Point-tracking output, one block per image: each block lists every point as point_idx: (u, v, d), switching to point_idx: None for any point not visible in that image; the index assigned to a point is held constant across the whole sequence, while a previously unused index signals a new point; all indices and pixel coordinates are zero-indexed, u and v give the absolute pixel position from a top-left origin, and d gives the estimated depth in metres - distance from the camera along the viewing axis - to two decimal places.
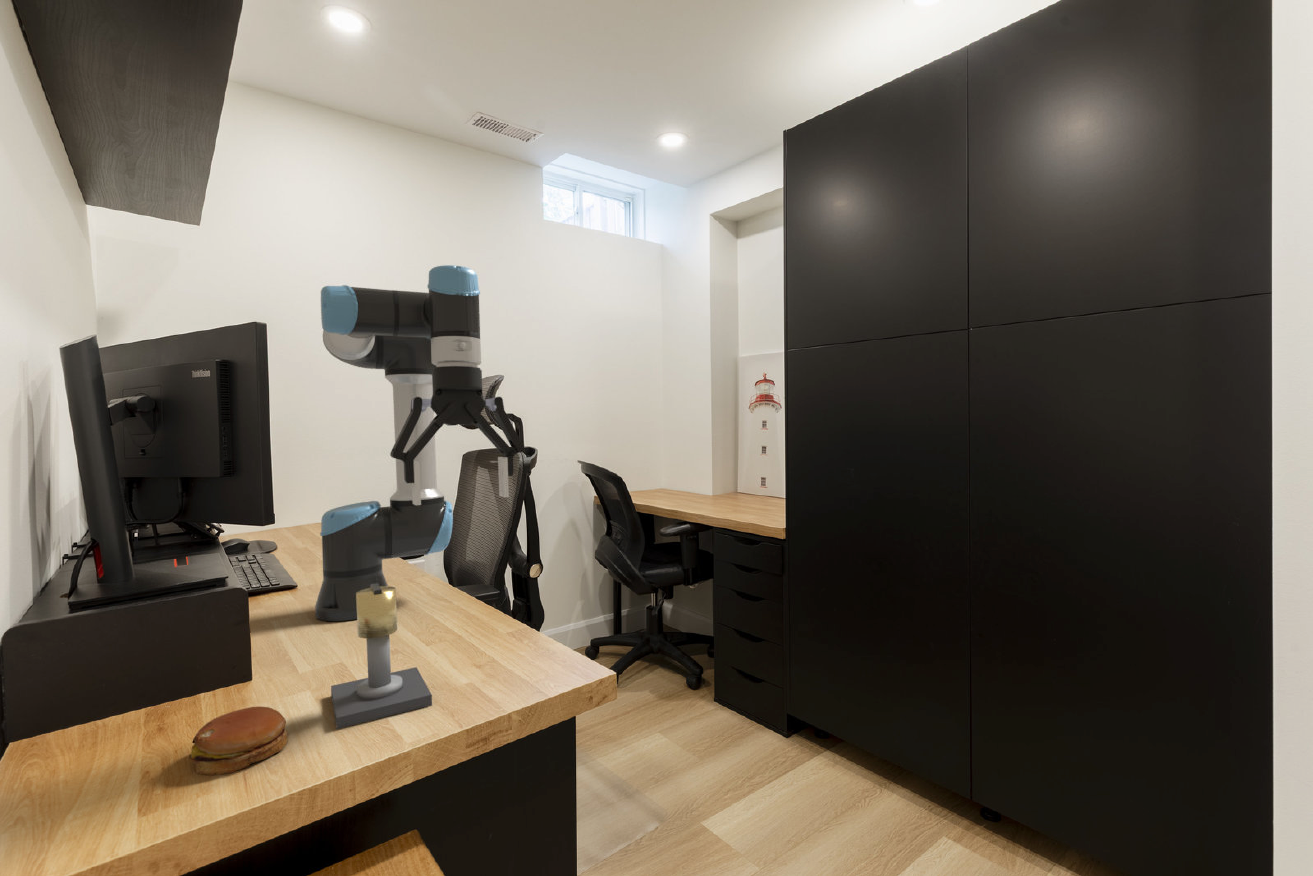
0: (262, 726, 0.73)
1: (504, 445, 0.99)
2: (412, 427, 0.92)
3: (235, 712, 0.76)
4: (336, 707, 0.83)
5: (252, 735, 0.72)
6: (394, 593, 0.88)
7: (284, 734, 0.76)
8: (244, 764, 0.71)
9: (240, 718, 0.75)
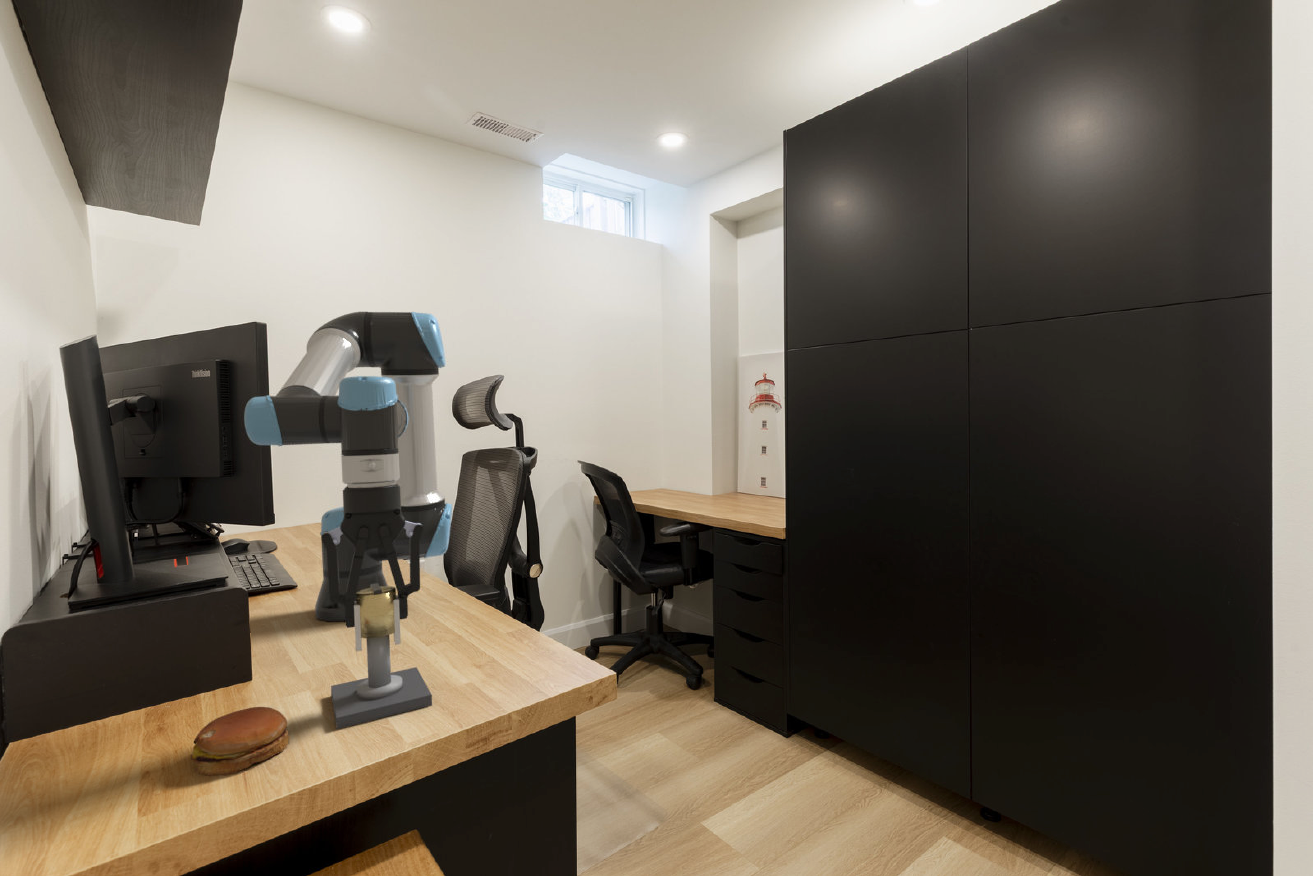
0: (263, 727, 0.73)
1: (400, 583, 0.88)
2: (335, 565, 0.85)
3: (236, 712, 0.76)
4: (336, 707, 0.83)
5: (254, 736, 0.72)
6: (394, 593, 0.88)
7: (285, 734, 0.76)
8: (245, 765, 0.71)
9: (241, 719, 0.75)
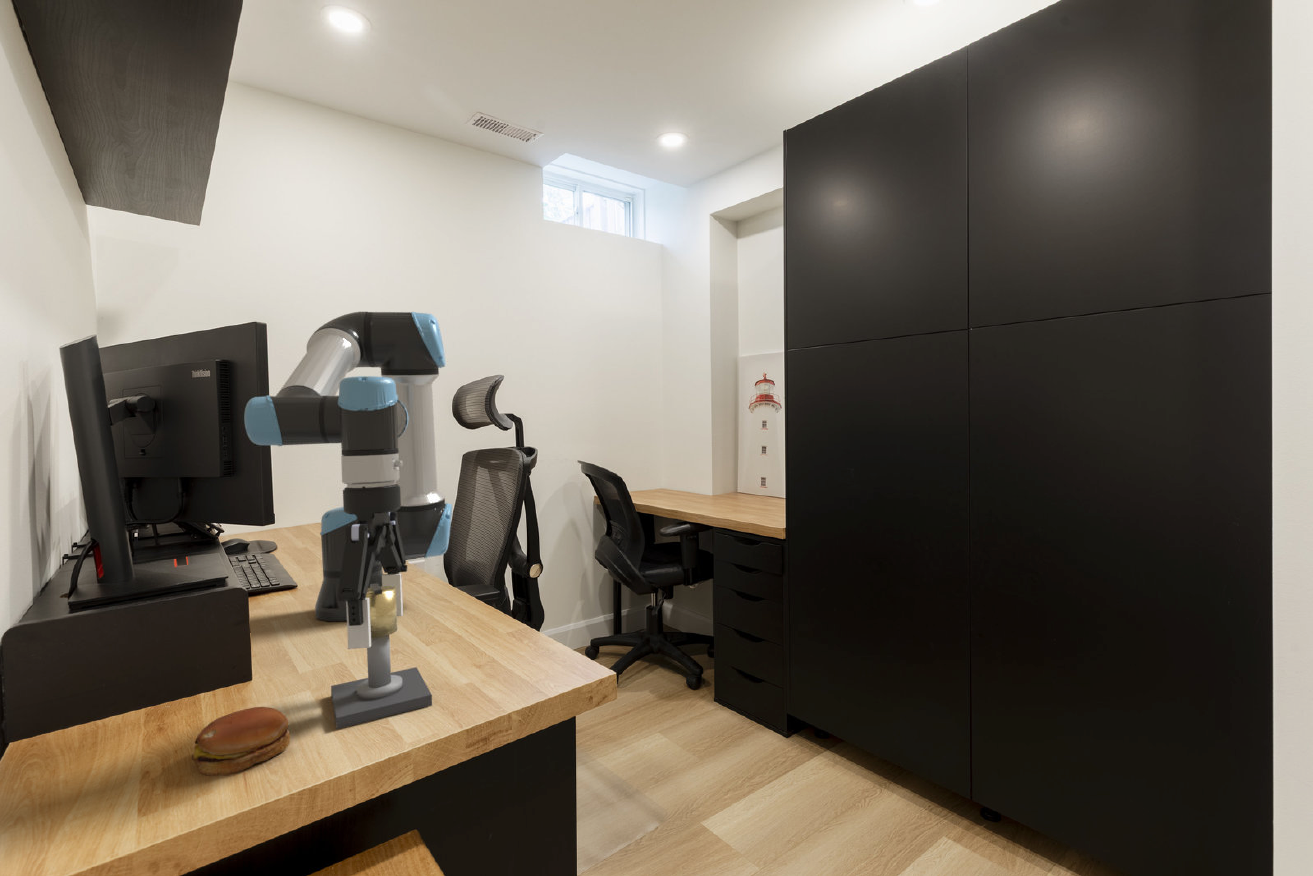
0: (265, 727, 0.73)
1: (399, 561, 0.95)
2: (364, 560, 0.81)
3: (238, 712, 0.76)
4: (336, 707, 0.83)
5: (255, 736, 0.72)
6: (394, 593, 0.88)
7: (287, 734, 0.76)
8: (246, 765, 0.71)
9: (242, 719, 0.75)
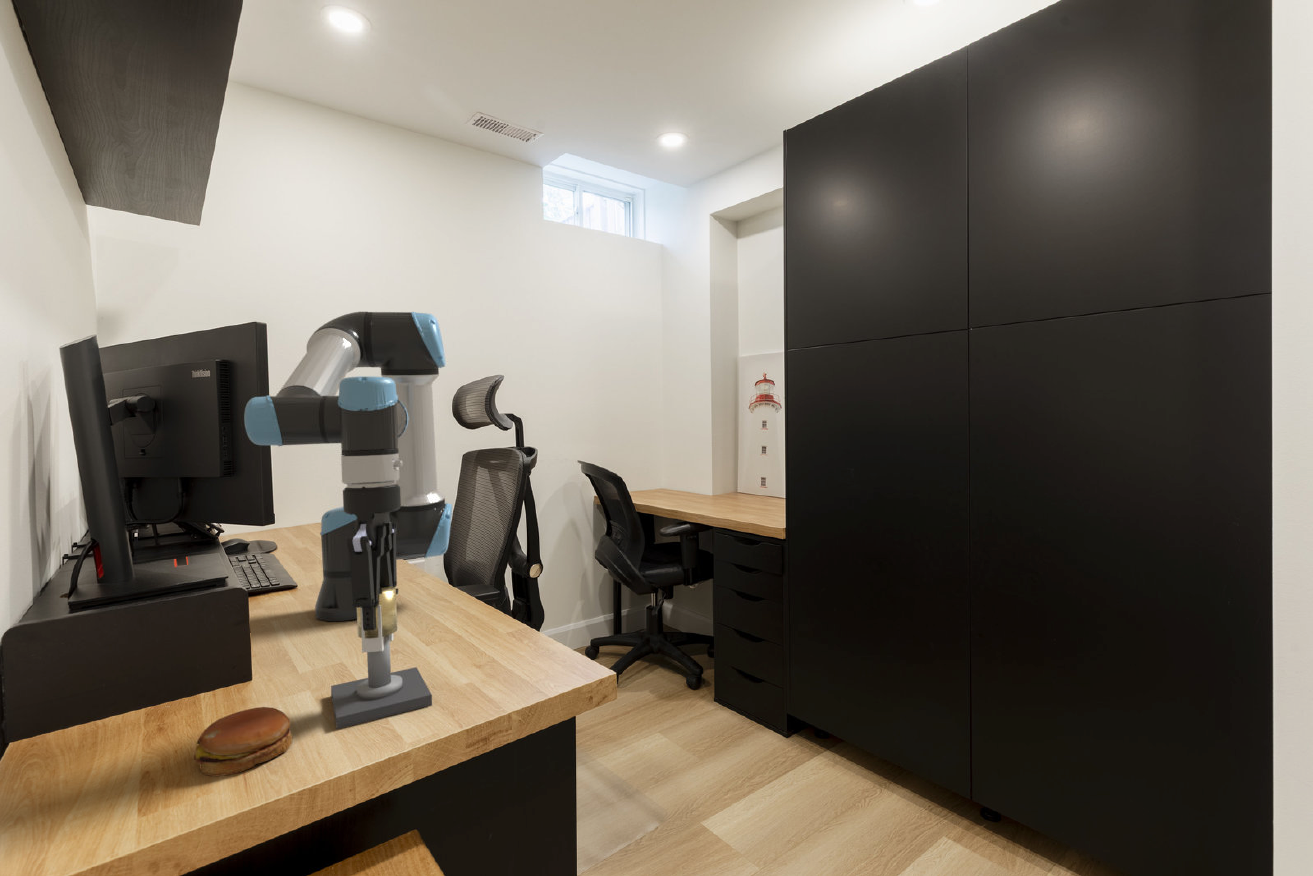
0: (267, 727, 0.73)
1: (391, 579, 0.91)
2: (371, 567, 0.83)
3: (240, 713, 0.76)
4: (336, 707, 0.83)
5: (257, 736, 0.72)
6: (394, 593, 0.88)
7: (289, 735, 0.76)
8: (248, 765, 0.71)
9: (244, 719, 0.75)
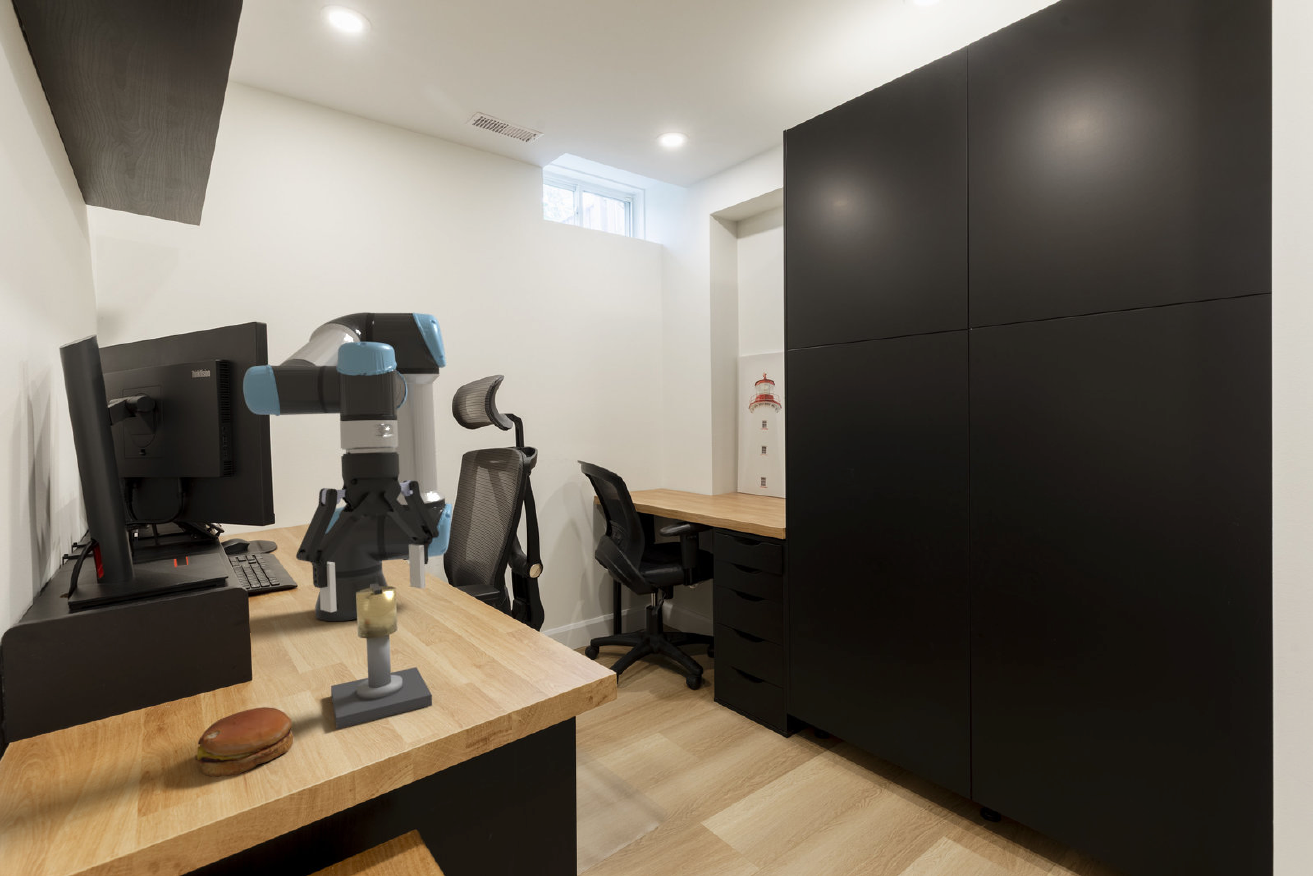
0: (268, 727, 0.73)
1: (420, 532, 0.93)
2: (327, 524, 0.81)
3: (241, 713, 0.76)
4: (336, 707, 0.83)
5: (258, 736, 0.72)
6: (394, 593, 0.88)
7: (290, 735, 0.76)
8: (250, 765, 0.71)
9: (245, 719, 0.74)
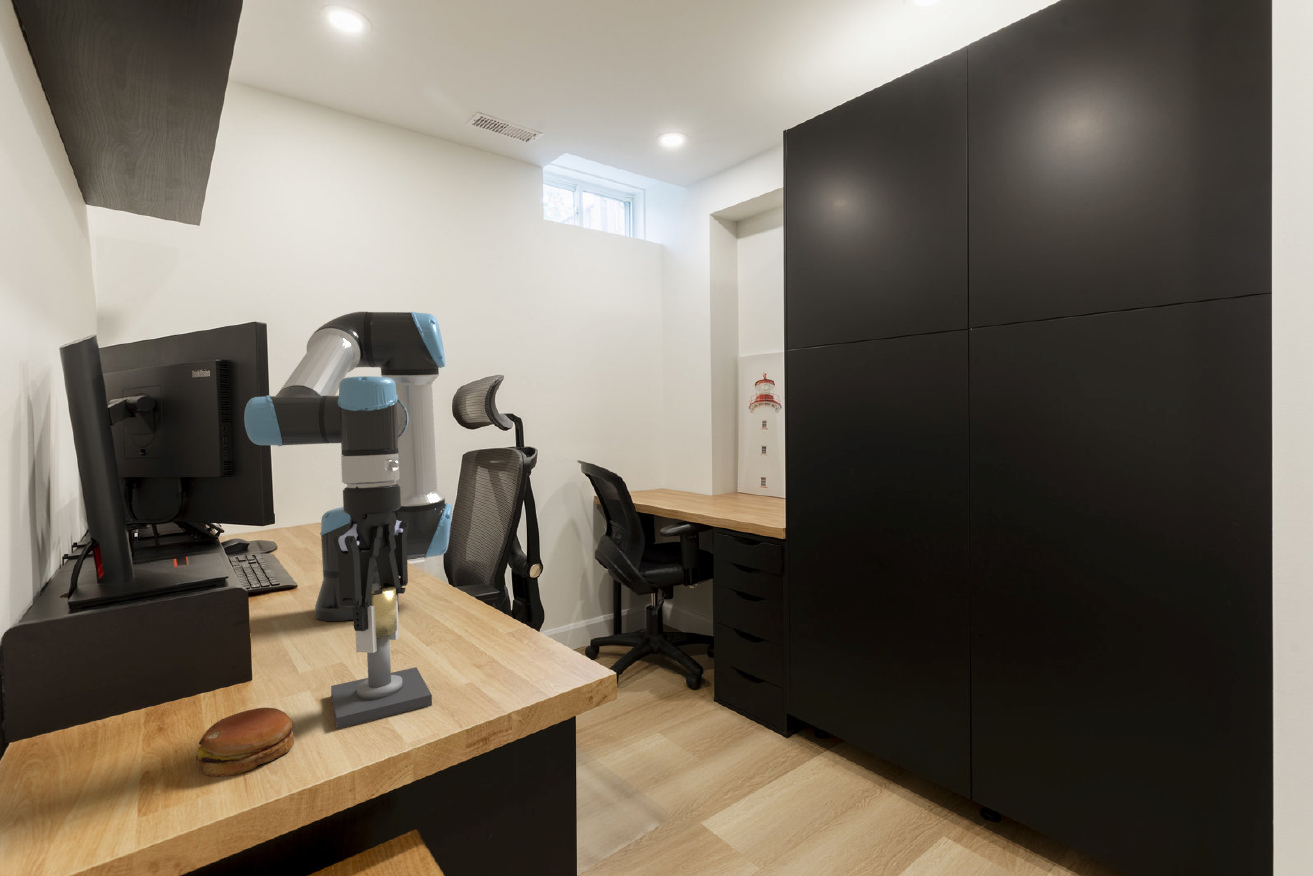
0: (269, 728, 0.73)
1: (397, 579, 0.91)
2: (358, 568, 0.83)
3: (242, 713, 0.76)
4: (336, 707, 0.83)
5: (259, 737, 0.72)
6: (394, 593, 0.88)
7: (291, 735, 0.76)
8: (251, 766, 0.71)
9: (246, 720, 0.74)
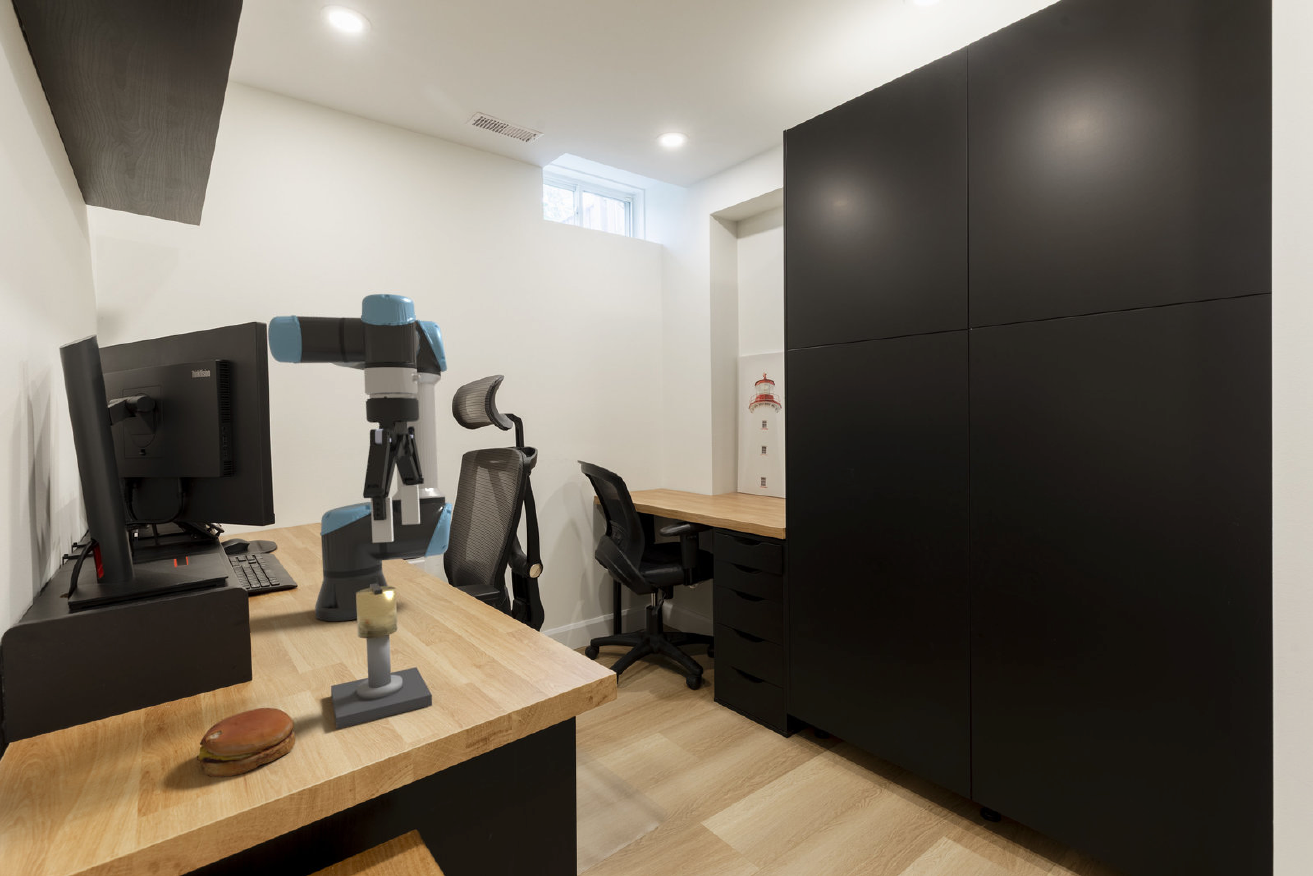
0: (270, 728, 0.73)
1: (416, 473, 1.02)
2: (387, 461, 0.88)
3: (243, 713, 0.76)
4: (336, 707, 0.83)
5: (261, 737, 0.72)
6: (394, 593, 0.88)
7: (292, 736, 0.75)
8: (252, 766, 0.71)
9: (247, 720, 0.74)
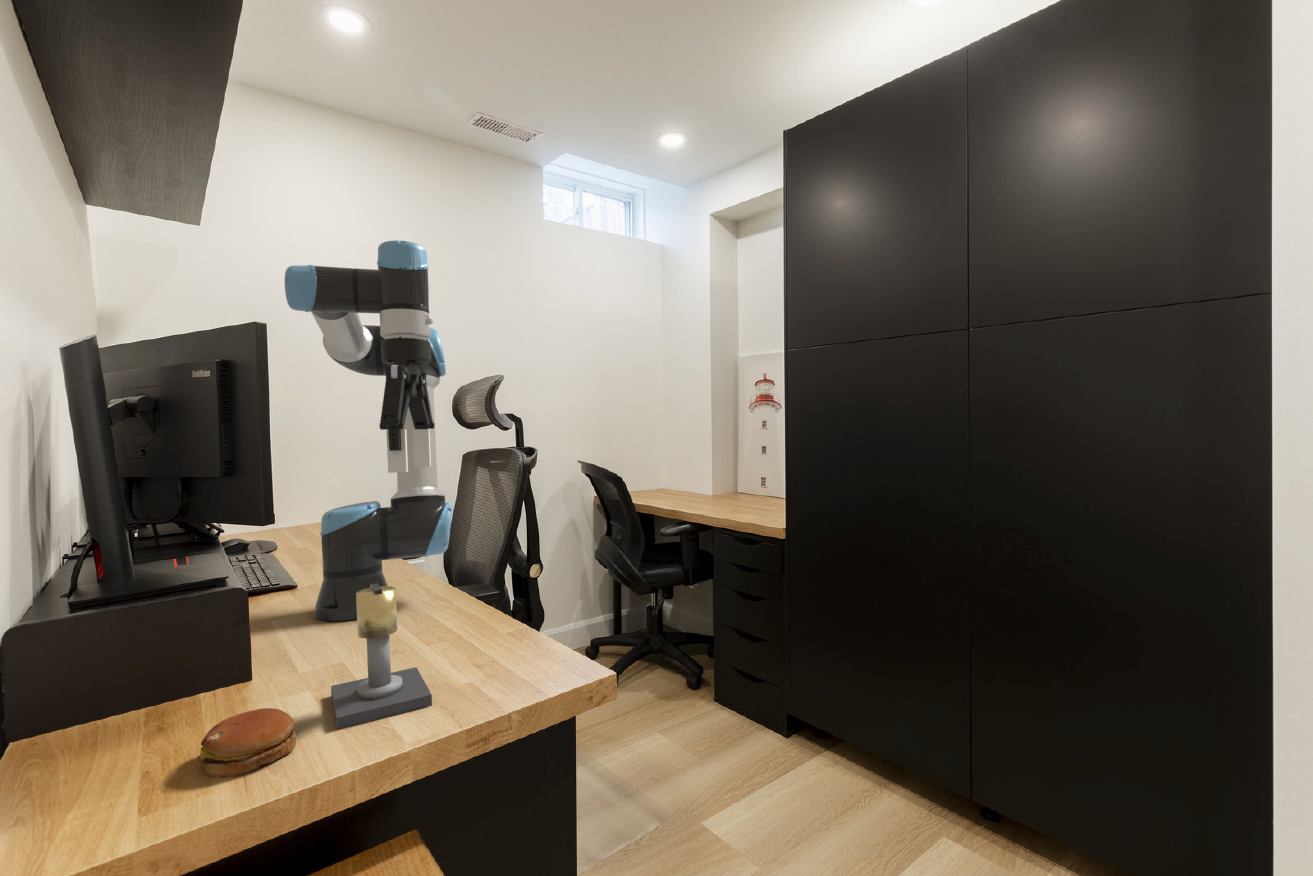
0: (271, 728, 0.73)
1: (427, 417, 1.06)
2: (402, 394, 0.92)
3: (244, 714, 0.76)
4: (336, 707, 0.83)
5: (262, 737, 0.72)
6: (394, 593, 0.88)
7: (293, 736, 0.75)
8: (253, 766, 0.71)
9: (248, 720, 0.74)
